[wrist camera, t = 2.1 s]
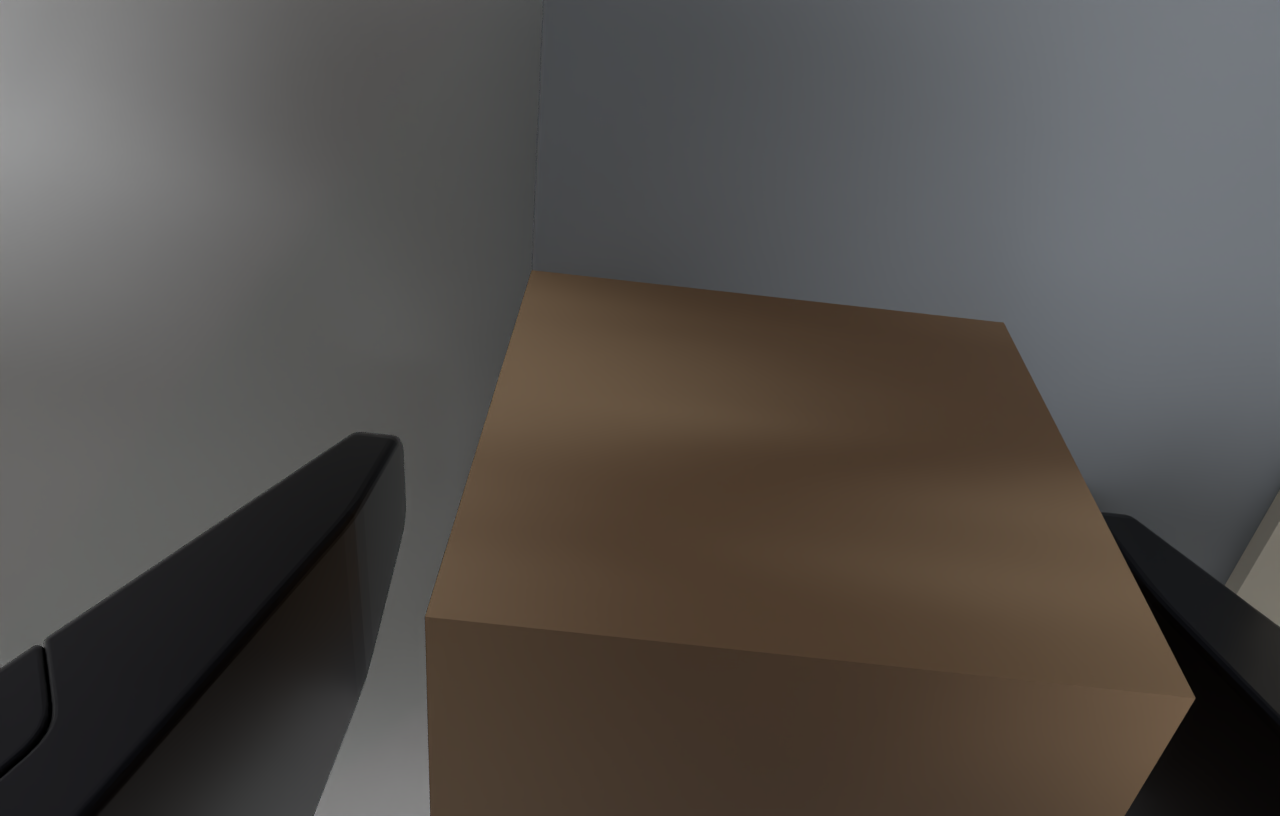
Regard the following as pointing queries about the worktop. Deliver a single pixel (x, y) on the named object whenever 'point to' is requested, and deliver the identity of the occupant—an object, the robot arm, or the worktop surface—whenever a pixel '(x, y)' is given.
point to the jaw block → (781, 575)
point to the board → (967, 206)
